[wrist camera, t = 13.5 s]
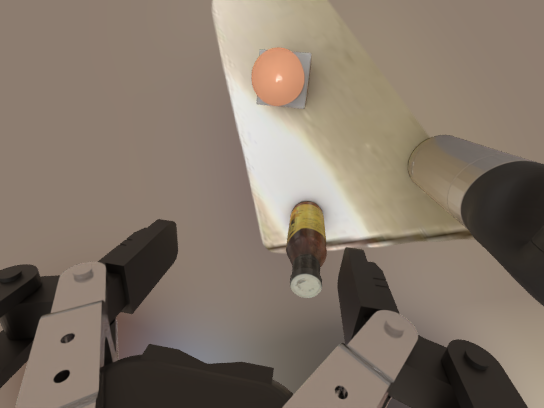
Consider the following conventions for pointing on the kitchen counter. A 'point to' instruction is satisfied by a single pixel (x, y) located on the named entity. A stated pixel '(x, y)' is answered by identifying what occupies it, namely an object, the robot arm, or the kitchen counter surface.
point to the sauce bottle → (306, 249)
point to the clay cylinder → (278, 77)
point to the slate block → (301, 100)
